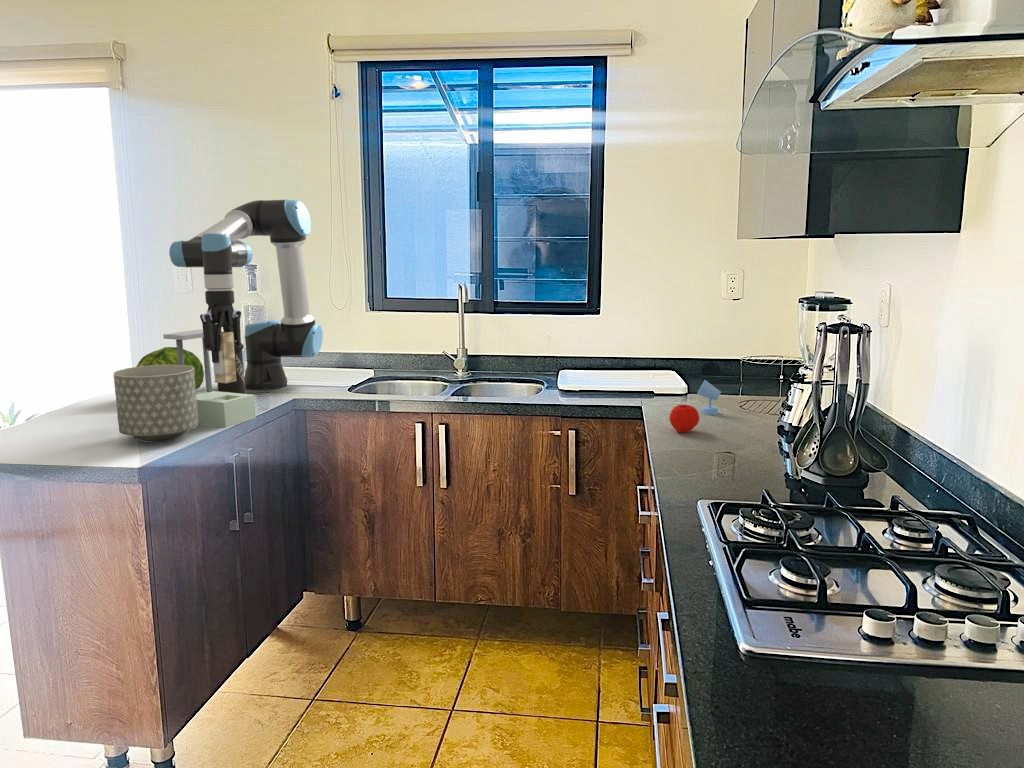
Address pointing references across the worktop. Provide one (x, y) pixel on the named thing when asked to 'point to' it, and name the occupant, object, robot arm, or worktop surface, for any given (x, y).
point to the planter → (156, 401)
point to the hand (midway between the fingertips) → (225, 372)
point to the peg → (227, 359)
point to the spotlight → (710, 393)
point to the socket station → (215, 392)
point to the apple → (684, 418)
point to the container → (239, 384)
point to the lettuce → (174, 361)
